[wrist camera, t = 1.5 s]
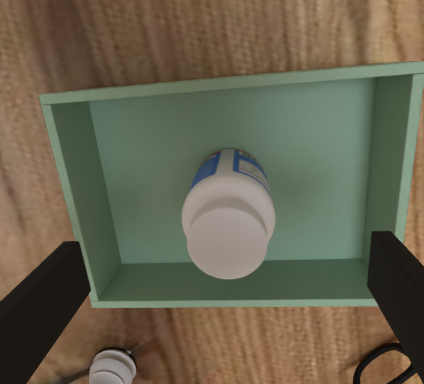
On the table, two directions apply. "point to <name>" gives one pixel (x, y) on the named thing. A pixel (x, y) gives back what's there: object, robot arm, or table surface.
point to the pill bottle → (228, 215)
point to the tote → (266, 155)
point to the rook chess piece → (112, 368)
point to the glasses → (398, 380)
